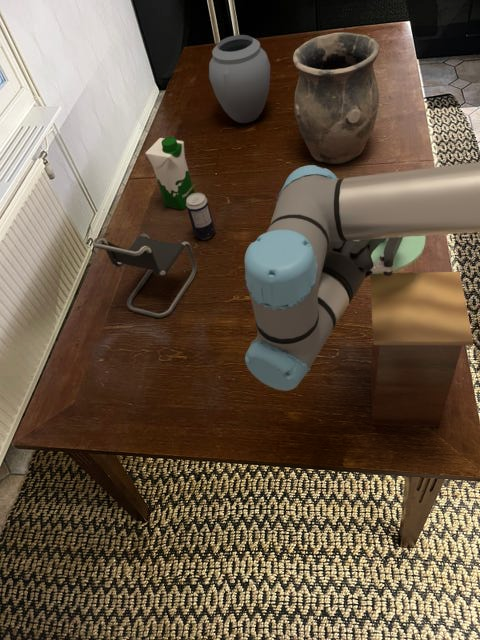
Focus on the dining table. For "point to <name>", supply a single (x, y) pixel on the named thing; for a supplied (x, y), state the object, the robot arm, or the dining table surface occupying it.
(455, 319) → the stand
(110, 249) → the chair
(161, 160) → the milk carton
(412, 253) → the lid
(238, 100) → the vase
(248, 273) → the robot arm
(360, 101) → the clay pot
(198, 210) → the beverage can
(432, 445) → the dining table surface
